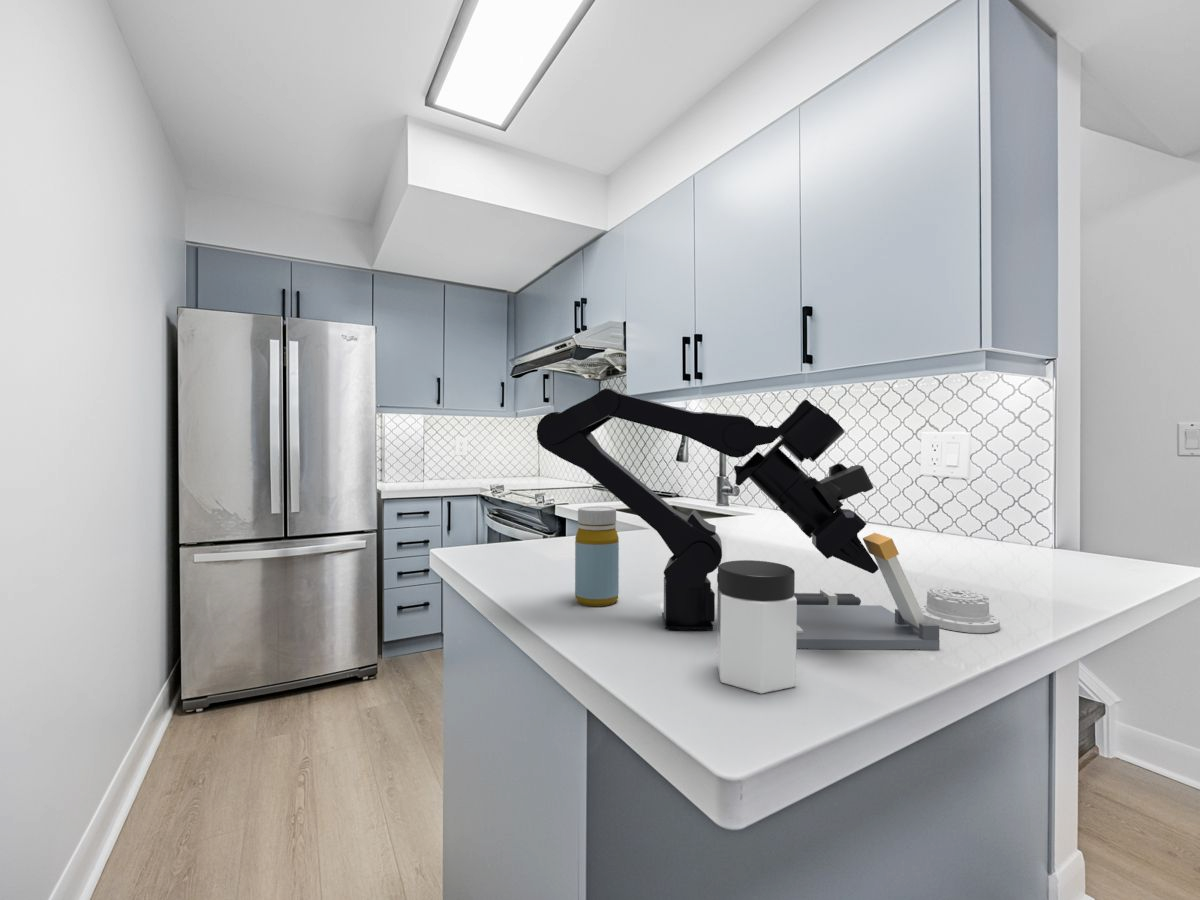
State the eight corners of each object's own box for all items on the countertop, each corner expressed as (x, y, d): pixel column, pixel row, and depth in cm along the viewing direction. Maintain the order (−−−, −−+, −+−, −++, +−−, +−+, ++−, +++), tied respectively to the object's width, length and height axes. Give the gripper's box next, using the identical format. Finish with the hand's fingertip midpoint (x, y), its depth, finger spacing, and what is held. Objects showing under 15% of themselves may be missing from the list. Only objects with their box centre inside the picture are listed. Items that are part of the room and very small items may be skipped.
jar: (763, 657, 67) (764, 557, 67) (813, 684, 60) (814, 571, 59) (699, 668, 64) (700, 563, 64) (743, 699, 56) (744, 579, 56)
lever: (921, 637, 71) (878, 544, 71) (902, 625, 76) (862, 538, 75) (934, 631, 71) (891, 538, 71) (914, 619, 76) (874, 532, 75)
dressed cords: (738, 606, 88) (738, 595, 88) (733, 599, 92) (733, 588, 92) (863, 607, 88) (863, 596, 88) (852, 600, 92) (852, 589, 92)
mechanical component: (931, 632, 77) (1013, 638, 75) (931, 600, 77) (1014, 605, 75) (907, 611, 87) (980, 615, 85) (908, 582, 87) (980, 586, 85)
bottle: (592, 593, 96) (592, 505, 96) (626, 599, 92) (627, 508, 92) (566, 602, 90) (566, 509, 90) (601, 610, 86) (602, 512, 86)
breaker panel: (769, 648, 70) (769, 624, 70) (741, 612, 85) (741, 592, 85) (939, 650, 70) (939, 625, 70) (881, 613, 85) (881, 593, 85)
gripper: (846, 444, 66) (950, 541, 64) (821, 444, 84) (901, 519, 82) (776, 509, 68) (875, 606, 66) (766, 495, 86) (843, 570, 84)
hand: (875, 570), depth 74 cm, fingers closed
